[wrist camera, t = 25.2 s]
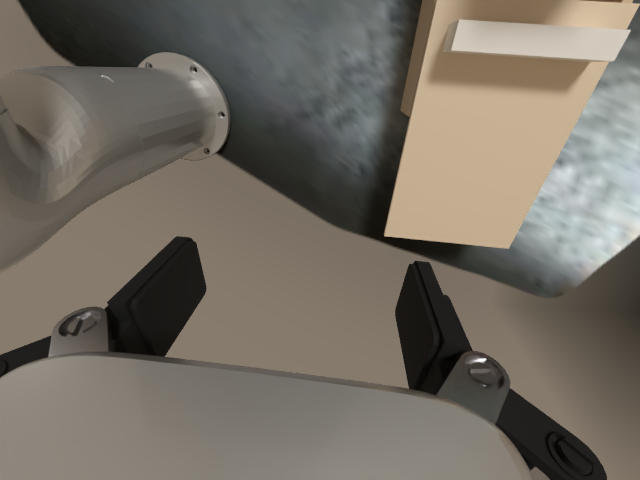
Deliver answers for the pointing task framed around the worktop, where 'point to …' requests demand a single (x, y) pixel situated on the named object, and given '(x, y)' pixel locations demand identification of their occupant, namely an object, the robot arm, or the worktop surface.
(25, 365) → the robot arm
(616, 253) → the worktop surface
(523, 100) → the lid
